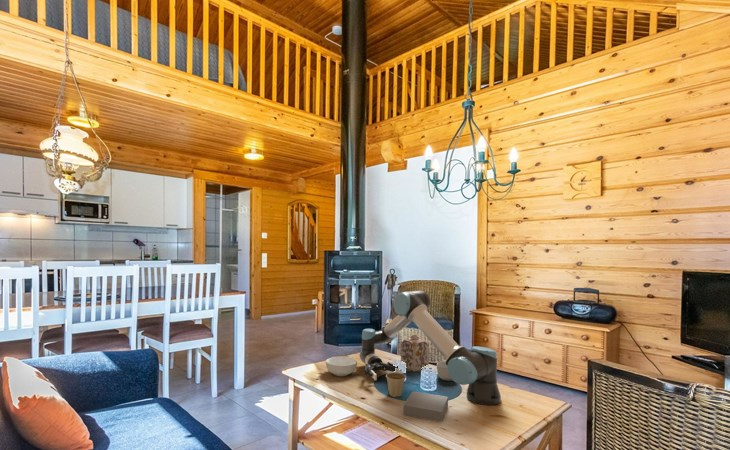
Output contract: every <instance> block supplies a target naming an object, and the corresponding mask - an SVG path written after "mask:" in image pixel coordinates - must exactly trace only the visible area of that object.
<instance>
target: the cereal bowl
mask: <svg viewBox="0 0 730 450" xmlns="http://www.w3.org/2000/svg"><path fill="white" fill-rule="evenodd" d="M325 366H326V369H327V370H328V372H329V373H331V374H333V375H334V376H337V377H345V376H349V375H350V374H352V373H353V372H355V371H356V369H357V366H358V361H357V359H355V358H354V357H351V356H341V355H340V356H332V357H330V358H327V359H326V360H325Z"/></svg>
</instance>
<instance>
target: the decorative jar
mask: <svg viewBox="0 0 730 450" xmlns="http://www.w3.org/2000/svg"><path fill="white" fill-rule="evenodd" d="M429 346H430V345H429V343H428V342H427V341H426V339H424V338H422V337H420V336H419V335H418V334H411V335H410V336H408V337H405V338H404V339H403V340H402V341H401V343H400V362H401V361H403V362H405V363H406V367H407V368H406V369H408V370H409V371H412V372H417V371H422V370H421V368H422V367H424V366H426V365H428V366H429V357H430V355H429V354H430V351H429Z"/></svg>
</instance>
